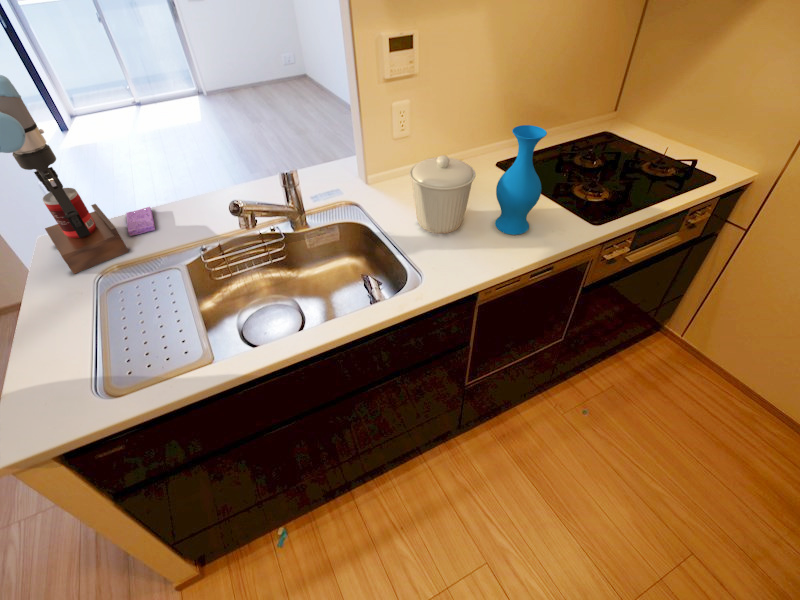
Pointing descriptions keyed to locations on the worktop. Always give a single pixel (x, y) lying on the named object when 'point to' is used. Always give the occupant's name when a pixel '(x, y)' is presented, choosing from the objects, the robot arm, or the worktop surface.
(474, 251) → the worktop surface
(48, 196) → the canned food
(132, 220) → the sponge
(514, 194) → the vase
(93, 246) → the wooden lipped board
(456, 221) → the canister
